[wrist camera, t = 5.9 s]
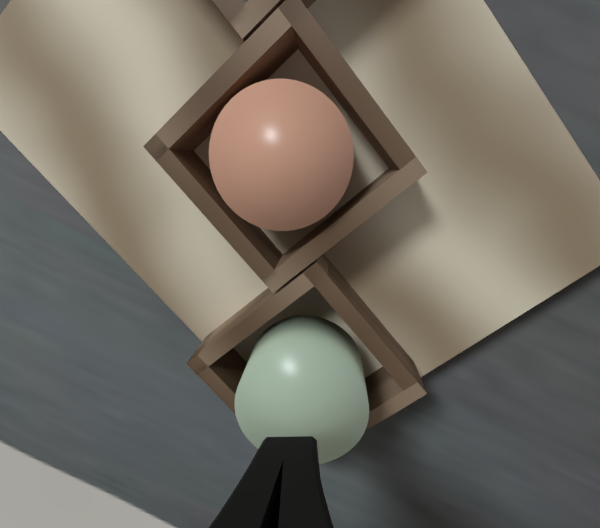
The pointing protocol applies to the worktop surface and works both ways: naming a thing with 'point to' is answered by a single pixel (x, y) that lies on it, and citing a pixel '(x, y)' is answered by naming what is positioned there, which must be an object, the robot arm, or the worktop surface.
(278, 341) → the sage button
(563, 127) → the button panel
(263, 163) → the terracotta button
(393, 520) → the worktop surface
